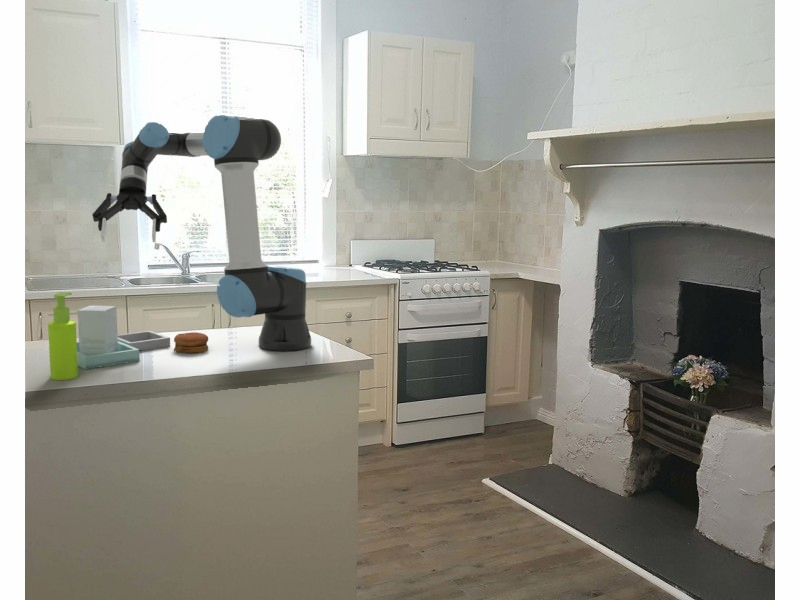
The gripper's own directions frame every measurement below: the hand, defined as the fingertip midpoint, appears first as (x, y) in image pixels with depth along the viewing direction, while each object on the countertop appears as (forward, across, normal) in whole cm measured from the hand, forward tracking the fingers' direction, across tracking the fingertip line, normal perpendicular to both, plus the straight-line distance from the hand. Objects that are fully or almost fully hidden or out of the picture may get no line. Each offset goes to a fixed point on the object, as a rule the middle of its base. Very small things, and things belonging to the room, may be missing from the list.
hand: (128, 238), depth 205 cm
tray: (+35, +6, -7) cm, 36 cm away
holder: (+26, -3, -16) cm, 31 cm away
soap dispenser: (+48, +11, +5) cm, 49 cm away
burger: (+30, -17, -12) cm, 37 cm away
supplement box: (+35, +6, -6) cm, 36 cm away
